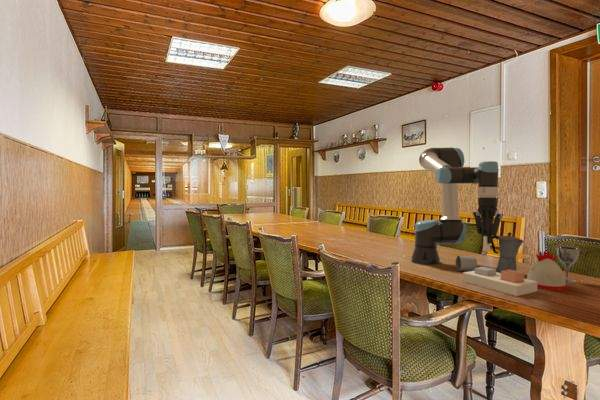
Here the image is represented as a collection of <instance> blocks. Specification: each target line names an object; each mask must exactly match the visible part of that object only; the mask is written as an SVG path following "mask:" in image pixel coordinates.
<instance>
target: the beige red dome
mask: <svg viewBox="0 0 600 400" xmlns="http://www.w3.org/2000/svg"><path fill="white" fill-rule="evenodd" d="M538 253H539V254H535V256H536V258H537V261H535V262H534V263H533V264H532V265H531V267H530V269H529V271H528V274H527V276H526V279H528V280H533V281H537V289H540V290H546V291H564V290H566V288H567V282H565V278H566V277H565V276H564V272H563V271H562V269H561V267H560V266H559V264H558V263H557V262H556V259H557V256H556V255H555V256H554V254H553V253H550V250H547V251H545V250H543V253H542V251H539V252H538Z"/></svg>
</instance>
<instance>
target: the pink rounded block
mask: <svg viewBox="0 0 600 400" xmlns="http://www.w3.org/2000/svg"><path fill="white" fill-rule="evenodd" d="M524 279H525V272H524V271H519V270H517V271H515V270H510V269H509V270H504V271H501V280H505V281H509V282H513V283H517V282H522V281H524Z"/></svg>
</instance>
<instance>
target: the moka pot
mask: <svg viewBox="0 0 600 400" xmlns="http://www.w3.org/2000/svg"><path fill="white" fill-rule="evenodd" d="M494 239H496V240H498V245H499V246H498V249H499V251H496V248H495V243H494ZM524 242H525V241H524V240H523V239H521V238H520V237H516V236H512V232H508V233H507V235H504V236H503V235H498V234H497V235H493V236H492V243H491V244H490V245H491V248H492V251H493V253H494V254H497V255H498V254H499V258H498V261H497V262H498V263H497V266H496V272H498V273H501V271H504V270H509V269H510V270H515V271H518V270H517V255H518V252H519V249H520V247H521V246H522V245H523V243H524Z"/></svg>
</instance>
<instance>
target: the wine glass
mask: <svg viewBox="0 0 600 400" xmlns="http://www.w3.org/2000/svg"><path fill="white" fill-rule="evenodd" d="M579 253H580V248H579V247H576V246H575V247H574V246H568V245H567V246H566V245H565V246H564V245H559V246H556V255H557V256H556V257H557V259H558V260H559V262H560V263H561V264H562V265H563V267H564V270H565V277H564V278H565V282H566V283H571V284H572V283H573V284H576V283H577V282H578V281H577V280H575V279H571V278H569V271H570V268H571V267H572V266H573V265H574V264H575V263H576V262H577V261H578V259H579V255H580V254H579Z"/></svg>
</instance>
